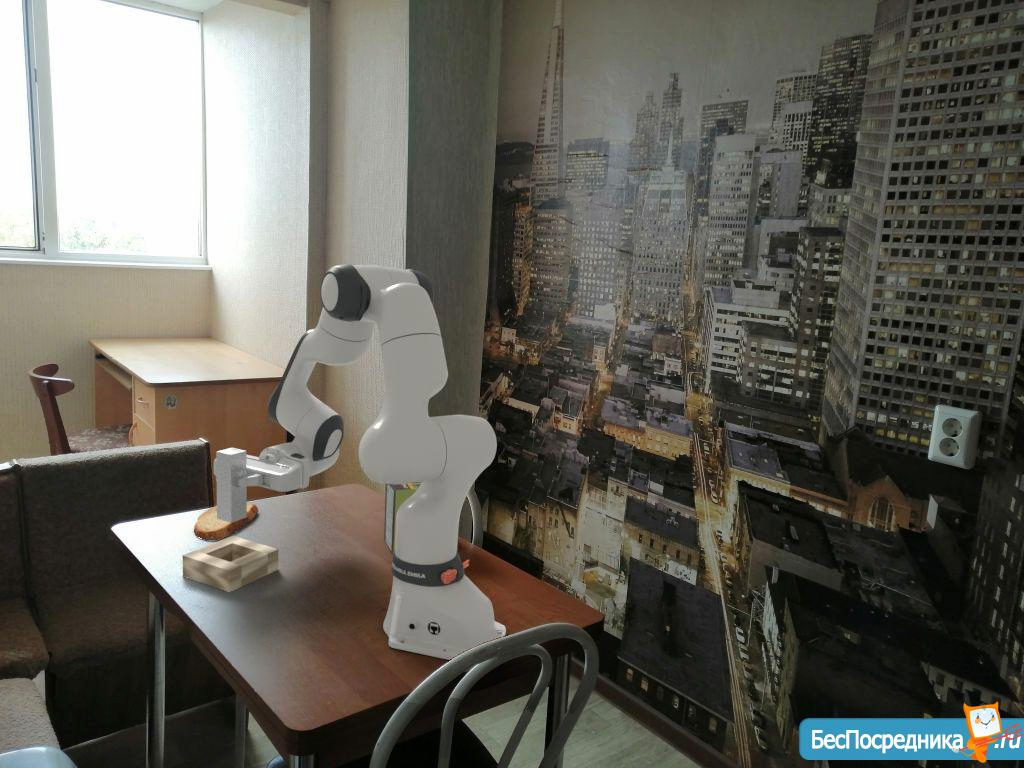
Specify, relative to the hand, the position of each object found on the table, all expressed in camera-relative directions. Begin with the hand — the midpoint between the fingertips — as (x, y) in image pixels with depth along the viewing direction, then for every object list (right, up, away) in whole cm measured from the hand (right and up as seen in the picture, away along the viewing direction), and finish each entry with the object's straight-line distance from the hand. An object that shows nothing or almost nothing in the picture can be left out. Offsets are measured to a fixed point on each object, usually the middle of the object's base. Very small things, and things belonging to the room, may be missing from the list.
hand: (228, 481), depth 150 cm
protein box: (+35, -18, +25) cm, 47 cm away
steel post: (0, -8, +2) cm, 8 cm away
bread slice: (-12, -15, +31) cm, 36 cm away
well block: (-1, -19, +4) cm, 20 cm away
